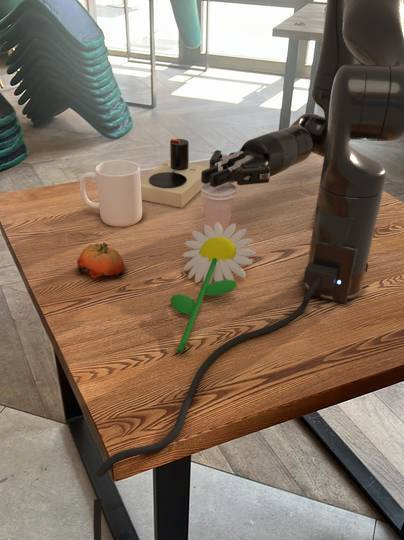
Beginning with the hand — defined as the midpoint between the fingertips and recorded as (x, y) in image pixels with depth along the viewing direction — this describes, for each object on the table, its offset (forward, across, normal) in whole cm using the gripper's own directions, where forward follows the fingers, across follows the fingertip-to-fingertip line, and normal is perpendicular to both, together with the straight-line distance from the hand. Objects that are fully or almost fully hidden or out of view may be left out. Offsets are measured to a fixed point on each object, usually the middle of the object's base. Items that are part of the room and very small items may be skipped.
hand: (207, 179), depth 98 cm
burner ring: (-10, -21, +9) cm, 25 cm away
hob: (-13, -22, +12) cm, 28 cm away
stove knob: (-18, -24, +9) cm, 31 cm away
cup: (+6, -20, +12) cm, 24 cm away
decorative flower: (+14, +13, +12) cm, 22 cm away
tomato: (+20, -5, +12) cm, 24 cm away
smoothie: (-3, 0, +12) cm, 13 cm away
